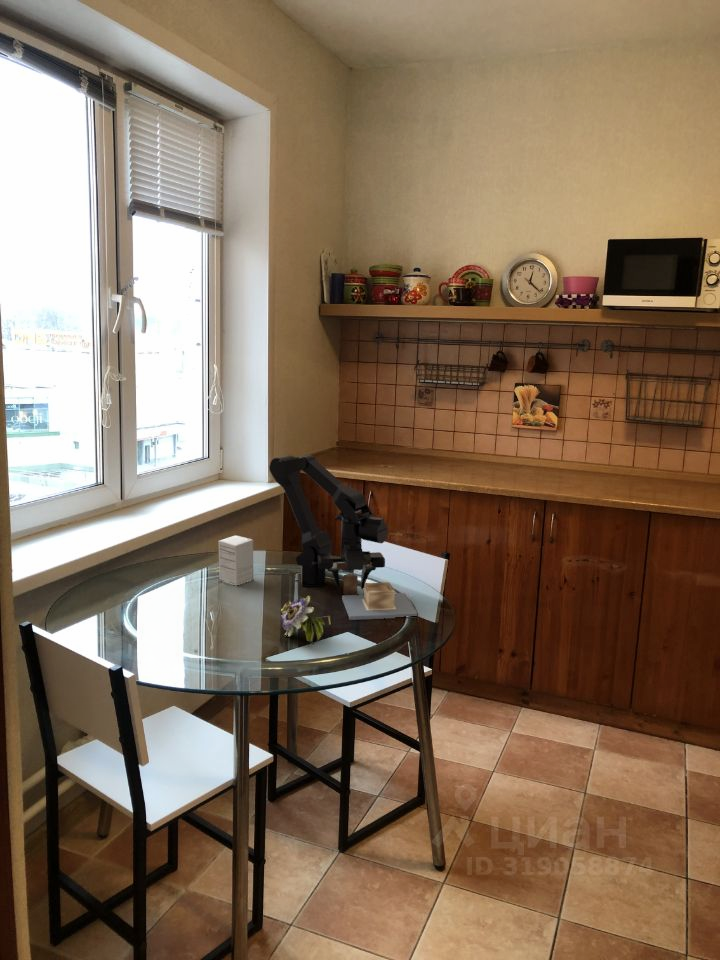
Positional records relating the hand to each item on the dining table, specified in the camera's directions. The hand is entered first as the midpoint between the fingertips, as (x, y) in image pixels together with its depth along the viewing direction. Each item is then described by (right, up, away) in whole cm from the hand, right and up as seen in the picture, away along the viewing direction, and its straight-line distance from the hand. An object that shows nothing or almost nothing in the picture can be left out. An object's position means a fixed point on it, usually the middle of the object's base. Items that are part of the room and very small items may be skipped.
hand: (350, 589), depth 221 cm
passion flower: (-11, -7, -29) cm, 32 cm away
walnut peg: (0, -1, 0) cm, 1 cm away
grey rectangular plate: (+8, -4, -10) cm, 13 cm away
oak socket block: (+8, -2, -11) cm, 13 cm away
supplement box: (-34, +1, +8) cm, 35 cm away
